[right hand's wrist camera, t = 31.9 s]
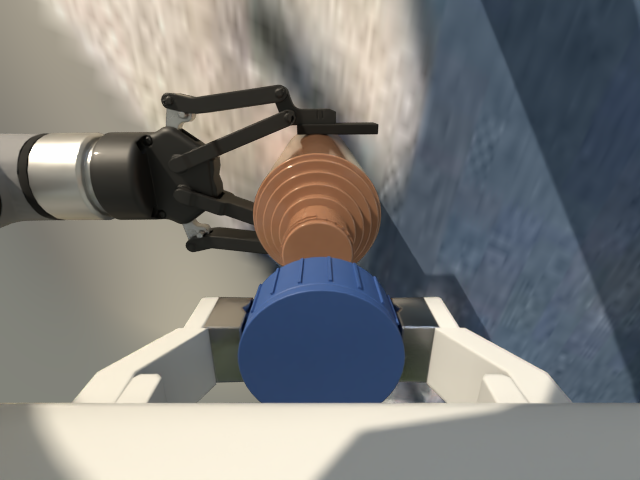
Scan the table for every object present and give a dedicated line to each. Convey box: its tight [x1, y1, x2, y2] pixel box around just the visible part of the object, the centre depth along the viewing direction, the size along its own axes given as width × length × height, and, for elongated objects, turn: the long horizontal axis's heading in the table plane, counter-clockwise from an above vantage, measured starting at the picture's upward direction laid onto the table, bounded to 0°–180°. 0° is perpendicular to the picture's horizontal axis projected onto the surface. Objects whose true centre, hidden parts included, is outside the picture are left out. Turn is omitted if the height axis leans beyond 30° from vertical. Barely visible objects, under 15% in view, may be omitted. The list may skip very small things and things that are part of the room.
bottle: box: [253, 135, 381, 266], centre depth 25 cm, size 7×7×23 cm
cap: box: [238, 256, 405, 403], centre depth 9 cm, size 4×4×2 cm
